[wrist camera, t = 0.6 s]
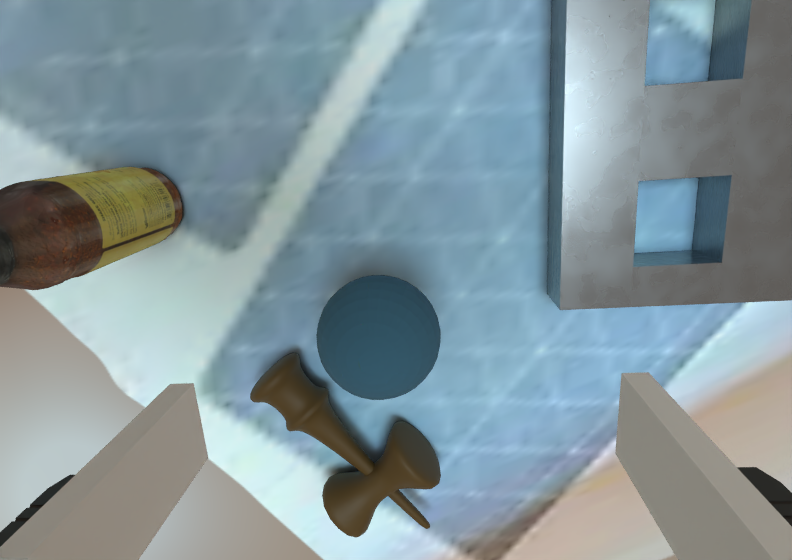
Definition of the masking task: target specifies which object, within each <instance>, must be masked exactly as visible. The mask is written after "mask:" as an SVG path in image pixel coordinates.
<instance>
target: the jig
mask: <svg viewBox="0 0 792 560" xmlns="http://www.w3.org/2000/svg"><path fill="white" fill-rule="evenodd" d="M649 7H650V0H552V9H551V75H550V142H549V208H548V274H547V294H548V295H549V297H550V298H551V299H552V300H553V302H554V303H555V304H556V306H557V307H558V308H559V309H560V310H571V309H595V308H619V307H642V306H666V305H690V304H713V303H737V302H761V301H784V300H792V0H716V7H715V18H714V28H713V39H712V49H711V59H710V70H709V80H708V81H705V82H692V83H679V84H666V85H653V86H645V70H646V54H647V38H648V22H649ZM694 177H699V184H698V195H697V205H696V215H695V226H694V236H693V247H692V250H691V251H672V252H652V253H634V243H635V227H636V212H637V196H638V181H646V180H662V179H678V178H694Z"/></svg>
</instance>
